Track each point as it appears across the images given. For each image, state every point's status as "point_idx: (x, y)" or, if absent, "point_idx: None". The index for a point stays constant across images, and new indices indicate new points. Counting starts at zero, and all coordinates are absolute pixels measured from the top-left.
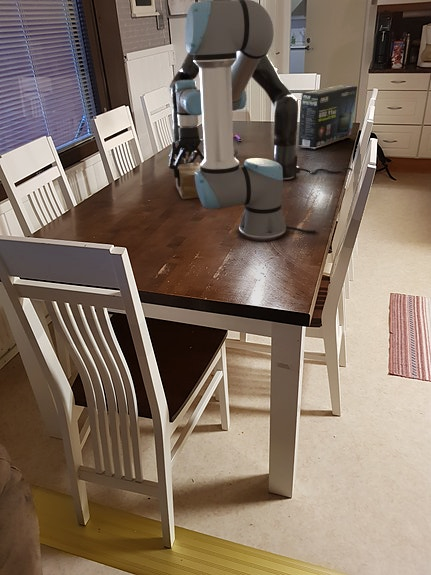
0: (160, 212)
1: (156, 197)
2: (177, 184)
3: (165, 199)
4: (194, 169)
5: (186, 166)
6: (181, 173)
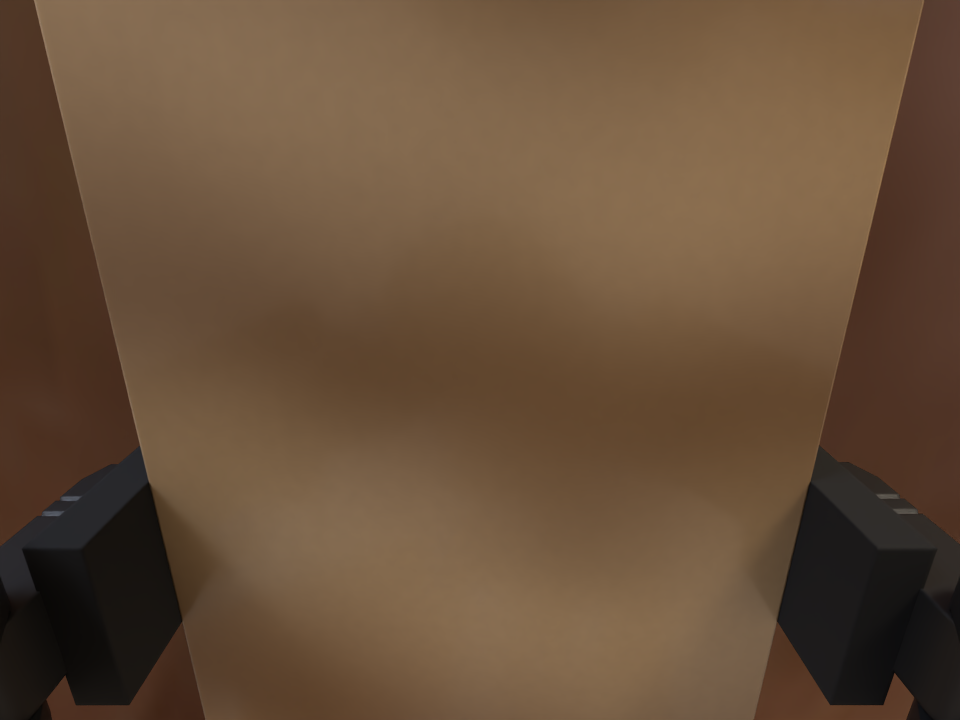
0: (111, 714)
1: (3, 327)
2: None
3: (131, 427)
4: (595, 420)
5: (421, 5)
6: (229, 608)
